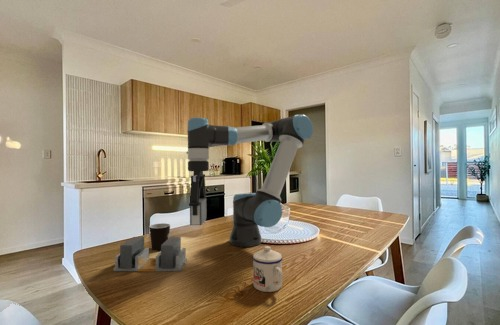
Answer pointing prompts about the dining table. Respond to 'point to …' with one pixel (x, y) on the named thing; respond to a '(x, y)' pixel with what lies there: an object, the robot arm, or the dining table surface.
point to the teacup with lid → (267, 270)
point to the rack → (138, 258)
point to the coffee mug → (159, 235)
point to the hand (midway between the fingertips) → (198, 220)
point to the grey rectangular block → (201, 210)
